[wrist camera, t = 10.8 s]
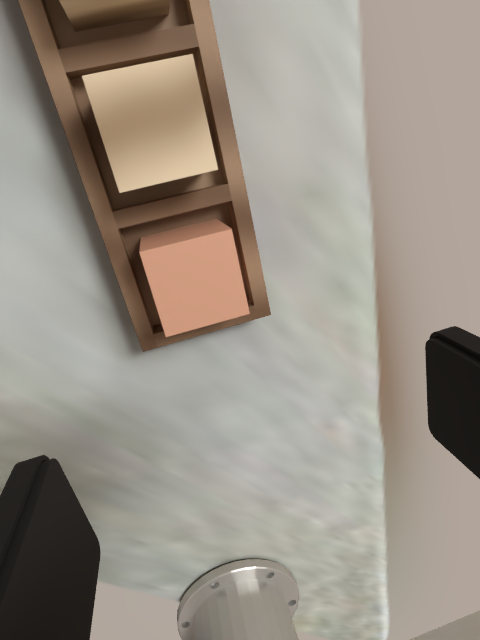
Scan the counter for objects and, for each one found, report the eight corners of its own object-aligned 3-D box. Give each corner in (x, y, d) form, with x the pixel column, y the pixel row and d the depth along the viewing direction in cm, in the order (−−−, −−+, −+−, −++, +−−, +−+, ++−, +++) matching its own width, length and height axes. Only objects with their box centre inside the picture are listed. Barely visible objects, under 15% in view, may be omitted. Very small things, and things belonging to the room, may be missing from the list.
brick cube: (232, 289, 27) (249, 313, 23) (162, 308, 27) (165, 337, 22) (216, 218, 25) (231, 229, 21) (140, 237, 25) (139, 252, 20)
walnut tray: (261, 303, 29) (287, 333, 24) (143, 337, 28) (142, 377, 23) (167, -155, 19) (174, -283, 14) (-20, -130, 18) (-92, -259, 13)
